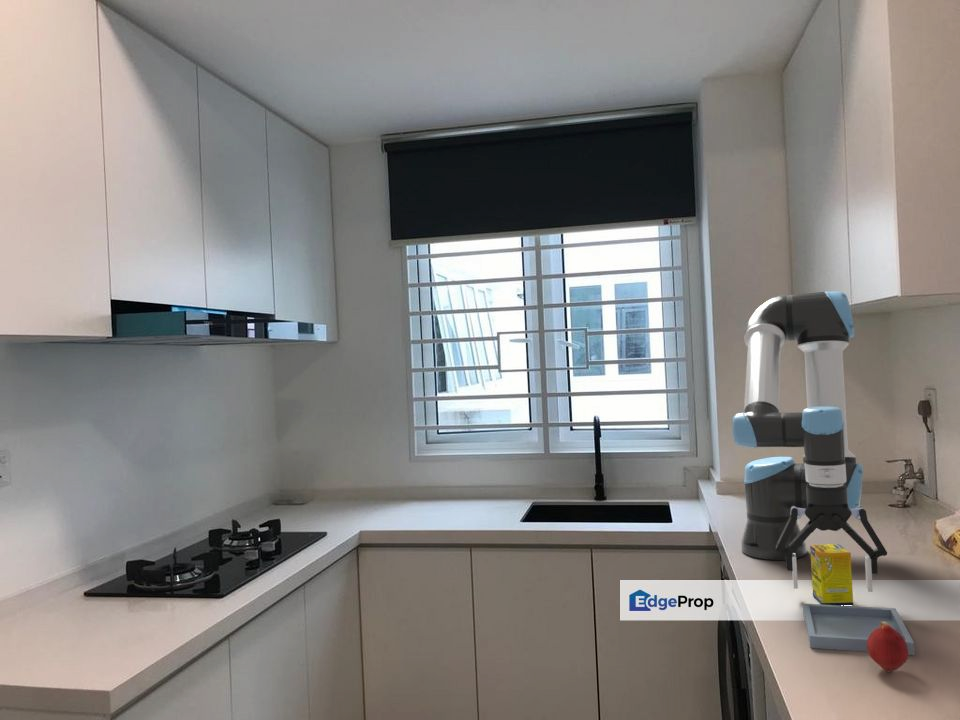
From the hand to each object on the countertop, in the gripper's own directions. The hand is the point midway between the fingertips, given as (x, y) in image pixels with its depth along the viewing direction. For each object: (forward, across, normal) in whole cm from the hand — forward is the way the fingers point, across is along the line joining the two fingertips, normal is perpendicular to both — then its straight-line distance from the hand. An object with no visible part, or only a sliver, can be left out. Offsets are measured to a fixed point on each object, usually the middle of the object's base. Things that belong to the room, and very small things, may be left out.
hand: (831, 588), depth 149 cm
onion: (+3, +5, -31) cm, 32 cm away
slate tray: (+3, +2, -16) cm, 16 cm away
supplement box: (+3, 0, 0) cm, 3 cm away
